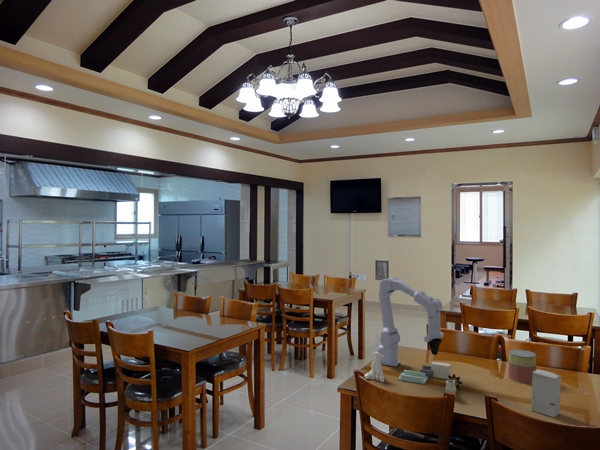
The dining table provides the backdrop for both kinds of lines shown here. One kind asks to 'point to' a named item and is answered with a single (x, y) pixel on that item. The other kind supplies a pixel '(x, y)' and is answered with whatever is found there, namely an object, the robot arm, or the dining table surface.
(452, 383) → the valve
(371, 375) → the sitting furry creature
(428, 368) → the channel
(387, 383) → the dining table surface
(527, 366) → the canned food
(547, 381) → the skincare box
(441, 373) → the white block
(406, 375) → the cradle
